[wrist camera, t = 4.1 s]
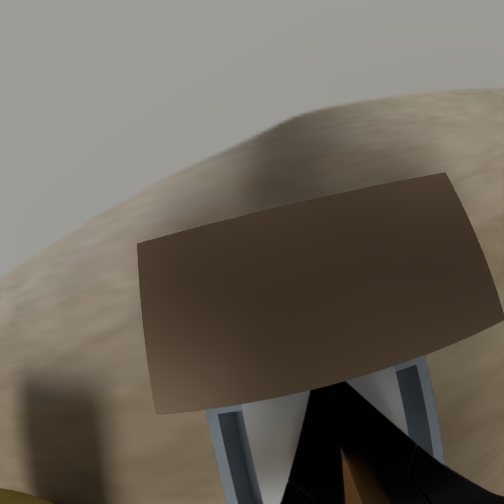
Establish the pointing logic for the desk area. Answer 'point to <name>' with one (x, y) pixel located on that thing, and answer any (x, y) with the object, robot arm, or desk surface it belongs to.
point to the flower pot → (19, 498)
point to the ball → (350, 487)
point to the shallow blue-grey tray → (238, 448)
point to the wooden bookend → (310, 307)
